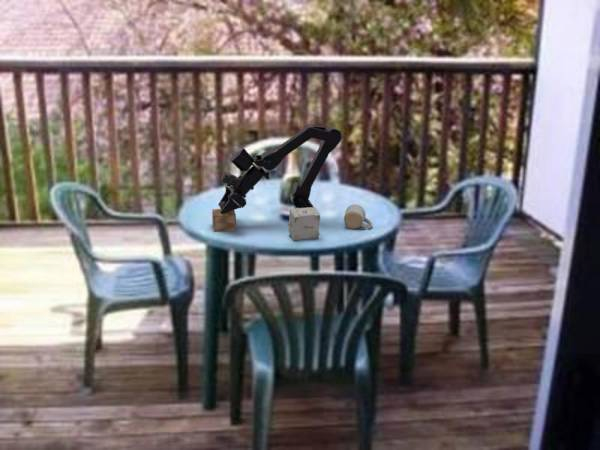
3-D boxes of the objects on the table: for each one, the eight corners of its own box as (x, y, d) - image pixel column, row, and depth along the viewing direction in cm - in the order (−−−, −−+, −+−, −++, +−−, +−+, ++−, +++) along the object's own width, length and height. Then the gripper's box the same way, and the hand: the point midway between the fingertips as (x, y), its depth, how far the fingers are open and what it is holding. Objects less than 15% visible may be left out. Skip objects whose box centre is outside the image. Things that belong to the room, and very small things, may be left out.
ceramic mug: (342, 229, 279) (344, 209, 277) (344, 222, 287) (346, 203, 284) (371, 231, 278) (372, 212, 275) (372, 224, 285) (374, 205, 283)
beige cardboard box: (293, 242, 265) (294, 214, 261) (287, 234, 272) (288, 207, 269) (320, 240, 267) (321, 212, 264) (313, 232, 275) (314, 205, 272)
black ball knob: (231, 222, 281) (231, 198, 278) (233, 227, 276) (232, 203, 273) (215, 223, 280) (214, 199, 277) (216, 228, 275) (216, 204, 272)
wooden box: (233, 223, 283) (233, 208, 281) (236, 230, 275) (235, 215, 273) (212, 224, 281) (212, 209, 279) (214, 231, 274) (213, 215, 272)
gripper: (231, 158, 280) (202, 188, 282) (236, 171, 263) (205, 202, 264) (252, 178, 284) (223, 207, 286) (259, 192, 267) (228, 222, 268)
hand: (220, 209), depth 276 cm, fingers open, 9 cm apart
